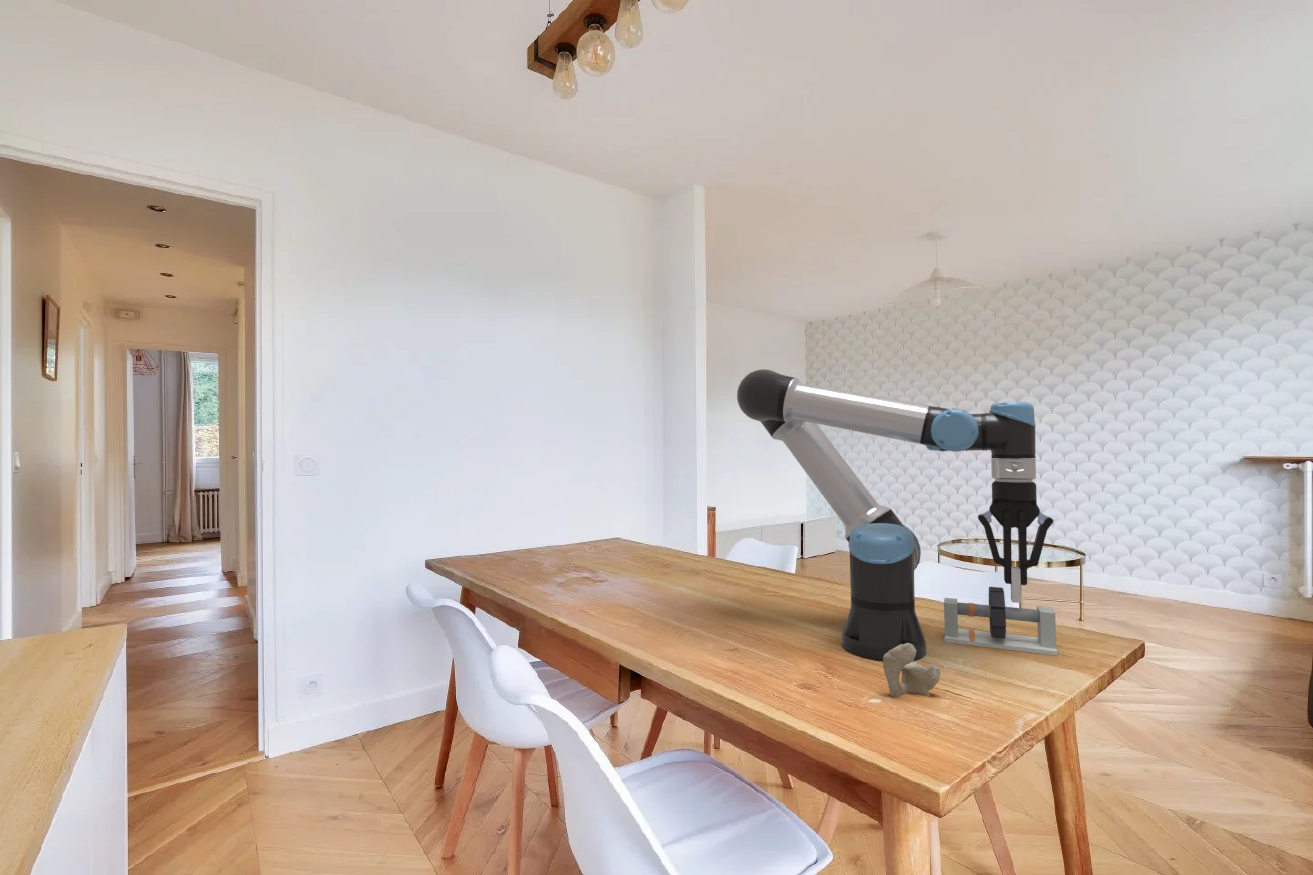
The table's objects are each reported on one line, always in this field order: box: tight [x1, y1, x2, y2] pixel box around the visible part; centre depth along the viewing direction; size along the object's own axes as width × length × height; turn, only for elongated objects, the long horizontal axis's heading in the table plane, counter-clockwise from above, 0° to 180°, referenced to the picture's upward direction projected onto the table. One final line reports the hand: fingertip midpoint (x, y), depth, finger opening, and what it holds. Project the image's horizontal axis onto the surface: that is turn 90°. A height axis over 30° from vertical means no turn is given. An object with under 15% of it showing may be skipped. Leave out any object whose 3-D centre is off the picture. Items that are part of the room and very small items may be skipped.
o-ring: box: [988, 586, 1007, 639], centre depth 117 cm, size 2×9×9 cm, turn 153°
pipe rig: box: [943, 597, 1059, 656], centre depth 117 cm, size 19×8×7 cm, turn 63°
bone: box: [882, 643, 941, 698], centre depth 93 cm, size 9×6×10 cm
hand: (1015, 600), depth 116 cm, fingers closed
